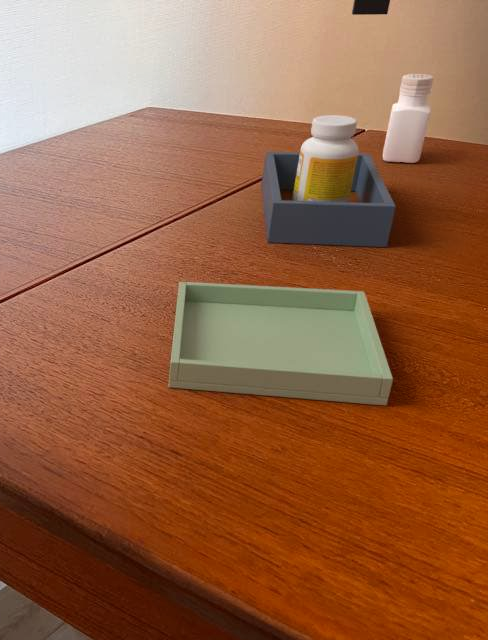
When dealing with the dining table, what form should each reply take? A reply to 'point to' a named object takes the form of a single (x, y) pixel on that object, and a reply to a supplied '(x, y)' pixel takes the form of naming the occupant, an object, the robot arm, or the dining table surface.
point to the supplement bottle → (327, 161)
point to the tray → (278, 343)
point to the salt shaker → (408, 120)
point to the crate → (326, 207)
